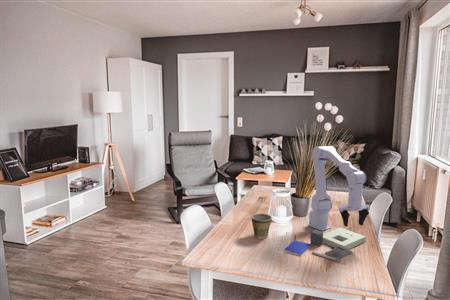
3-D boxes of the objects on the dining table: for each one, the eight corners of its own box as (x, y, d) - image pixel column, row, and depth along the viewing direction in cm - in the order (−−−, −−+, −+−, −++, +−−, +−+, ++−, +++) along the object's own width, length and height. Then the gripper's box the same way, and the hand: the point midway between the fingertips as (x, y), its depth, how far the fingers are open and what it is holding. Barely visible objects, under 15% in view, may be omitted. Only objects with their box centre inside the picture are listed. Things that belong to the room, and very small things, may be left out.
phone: (325, 254, 142) (325, 252, 142) (339, 247, 148) (340, 245, 148) (336, 259, 137) (337, 257, 137) (351, 252, 143) (351, 250, 143)
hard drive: (294, 239, 154) (283, 249, 144) (311, 244, 150) (300, 254, 140) (294, 242, 155) (283, 252, 145) (310, 247, 150) (300, 257, 140)
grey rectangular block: (310, 243, 152) (310, 231, 152) (315, 241, 155) (316, 229, 154) (317, 246, 149) (317, 234, 148) (322, 244, 152) (323, 232, 151)
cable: (311, 253, 142) (312, 251, 142) (313, 252, 143) (313, 250, 143) (339, 262, 135) (339, 260, 134) (340, 261, 136) (340, 259, 135)
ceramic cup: (270, 241, 155) (271, 221, 153) (249, 239, 157) (250, 219, 155) (272, 230, 167) (272, 212, 166) (253, 229, 169) (253, 211, 168)
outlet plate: (318, 240, 156) (318, 235, 156) (340, 232, 167) (340, 227, 166) (343, 251, 145) (344, 245, 145) (365, 241, 155) (365, 236, 155)
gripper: (345, 200, 143) (343, 229, 145) (374, 199, 145) (372, 227, 147) (337, 195, 150) (335, 223, 152) (365, 194, 152) (363, 222, 154)
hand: (353, 225), depth 150 cm, fingers open, 7 cm apart
